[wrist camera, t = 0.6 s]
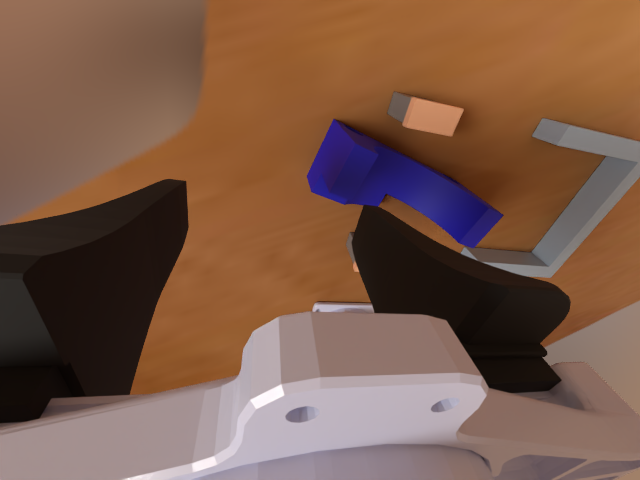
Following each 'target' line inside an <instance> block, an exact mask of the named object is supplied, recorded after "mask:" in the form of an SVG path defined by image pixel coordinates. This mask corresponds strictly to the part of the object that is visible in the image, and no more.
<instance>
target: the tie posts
mask: <svg viewBox="0 0 640 480" xmlns="http://www.w3.org/2000/svg"><path fill="white" fill-rule="evenodd" d="M463 111H464V109H462V108H459V107H455V106H451V105H447V104H442V103H439V102H436V101H433V100H429V99H424V98H420V97H416V96H411V95H407V94H403V93H398V92H394V93H393V96H392V100H391V103H390V106H389V109H388V112H387V114H389V115H390V116H392V117H394V118H395V119H397V120H399V121H400V122H402V123H403V124H402V125H403V126H404V127H406V128H411V129H416V130H421V131H426V132H431V133H436V134H441V135H446V136H451V137H452V135H453V133H454V130H455V128H456V126H457V124H458V122H459V119H460V117H461V115H462V113H463ZM353 236H354V232H350V234H349V237H348V240H347V243H346V246H347V248H348V251H349V254H350V256H351V259H352V261H353V264H354V265H353V268H354V271H356V272H359V270H358V267H357V265H356V262H355V258H354V254H353V249H352V244H351V242H352V239H353Z"/></svg>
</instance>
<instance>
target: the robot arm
mask: <svg viewBox="0 0 640 480" xmlns="http://www.w3.org/2000/svg"><path fill="white" fill-rule="evenodd" d="M187 231H188V208H187V188H186V181H181V180H173V179H166V180H162V181H160V182H157V183H155V184H152V185H150V186H147V187H145V188H143V189H140V190H138V191H135V192H133V193H131V194H128V195H125V196H123V197H120V198H117V199H114V200H111V201H109V202H106V203H103V204H100V205H97V206H94V207H90V208H87V209H83V210H79V211H75V212H72V213H67V214H63V215H58V216H53V217H48V218H43V219H38V220H33V221H28V222H22V223H15V224H8V225H1V226H0V480H615V479H618V478H620V477H622V476H624V475H627V474H629V473H631V472H634V471H636V470H638V469H640V416H639V415H638V414H637V413H636V412H635V411H634V410H633V409H632V408H631V407H630V406H629V405H628V404H627V403H626V402H625V401H624V400H623V399H622V398H621V397H620V396H619V395H618V394H617V393H616V392H615V391H614V390H613V389H612V388H611V387H610V386H609V385H608V384H607V383H606V382H605V381H604V380H603V379H602V378H601V377H600V376H599V375H598V374H597V373H596V372H595V371H594V370H593V369H592V368H591V367H590V366H589V365H588V364H587V363H584V362H566V363H565V362H564V363H556V364H554V365H552V366H549V365H548V364H547V362H546V361H545V360H544V359H543V358H542V357H545V356H546V355H547V351H546V350H545V348H544V347H543V346H542V345H541V344H540V343H541V342H542V341H543V340H544V339H545V338H546V337H547V336H548V335H549V334H550V333H551V332H552V331H553V330H554V329H555V328H556V327H557V326H558V325H559V324H560V323H561V322H562V321H563V320H564V319H565V317H566V316H567V314H568V312H569V309H570V303H571V302H570V299H569V296H567V295H566V294H565V293H564V292H563V291H562V290H561V289H559V288H558V287H557V286H556V285H554V284H551V283H549V282H546V281H542V280H538V279H534V278H531V277H527V276H523V275H519V274H516V273H512V272H509V271H506V270H503V269H500V268H497V267H494V266H491V265H488V264H485V263H483V262H480V261H477V260H475V259H472V258H470V257H468V256H465V255H463V254H460V253H458V252H456V251H454V250H452V249H450V248H448V247H446V246H444V245H442V244H440V243H438V242H436V241H434V240H432V239H431V238H429V237H427V236H426V235H424V234H422V233H420V232H419V231H417V230H416V229H414V228H412V227H411V226H409V225H408V224H406V223H405V222H403V221H402V220H400V219H398V218H397V217H395V216H394V215H392V214H391V213H389V212H387V211H386V210H384V209H382V208H380V207H378V206H372V205H364V206H363V209H362V212H361V215H360V218H359V221H358V224H357V227H356V230H355V233H354V236H353V239H352V242H351V244H352V249H353V254H354V258H355V262H356V265H357V267H358V270H359V272H360V275H361V278H362V280H363V283H364V285H365V288H366V290H367V293H368V295H369V298H370V300H371V303H339V302H317V303H315V304H314V307H313V310H312V311H308V312H301V313H295V314H288V315H281V316H279V317H277V318H276V319H274V320H272V321H270V322H269V323H267V324H265V325H263V326H261V327H260V328H258V329H256V330H254V331H253V333H252V335H251V336H250V338H249V340H248V342H247V344H246V345H245V347H244V349H243V357H242V366H241V370H240V373H239V375H237V376H232V377H228V378H223V379H218V380H214V381H209V382H205V383H200V384H196V385H191V386H186V387H182V388H177V389H173V390H168V391H164V392H159V393H154V394H142V395H130V391H131V387H132V383H133V380H134V376H135V373H136V369H137V366H138V362H139V359H140V355H141V352H142V348H143V345H144V342H145V339H146V335H147V332H148V329H149V326H150V323H151V320H152V317H153V314H154V311H155V308H156V305H157V302H158V299H159V297H160V295H161V292H162V290H163V288H164V286H165V284H166V282H167V280H168V278H169V276H170V273H171V271H172V269H173V267H174V265H175V263H176V261H177V259H178V257H179V254H180V252H181V250H182V248H183V245H184V242H185V238H186V235H187ZM317 309H318V310H317Z"/></svg>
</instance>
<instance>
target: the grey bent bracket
mask: <svg viewBox="0 0 640 480" xmlns="http://www.w3.org/2000/svg"><path fill="white" fill-rule="evenodd" d="M532 137H535V138H537V139H540V140H543V141H546V142H549V143H552V144H554V145H557V146H562V147H567V148H572V149H576V150H581V151H586V152H591V153H595V154H600V155H605V156H606V157H605V158H604V160H603V161H602V162H601V164H600V165H599V166H598V167H597V169H596V170H595V171H594V173H593V174H592V175H591V176H590V178H589V179H588V180H587V182H586V183H585V184H584V185H583V187H582V188H581V189H580V190H579V192H578V193H577V194H576V196H575V197H574V198H573V199H572V201H571V202H570V203H569V205H568V206H567V207H566V208H565V210H564V211H563V212H562V214H561V215H560V216H559V217H558V219H557V220H556V221H555V223H554V224H553V225H552V226H551V228H550V229H549V230H548V232H547V233H546V234H545V235H544V237H543V238H542V239H541V241H540V242H539V243H538V244H537V246H536V247H535V248H534V250H533V251H532V252H520V251H508V250H497V249H485V248H470V247H464V249H463V250H462V252H461V254H463V255H465V256H468V257H470V258H472V259H475V260H477V261H480V262H483V263H485V264H488V265H491V266H494V267H497V268H500V269H503V270H506V271H509V272H512V273H516V274H519V275H523V276H531V277H548V278H551V277H552V276H553V275H554V273H555V272H556V271H557V270H558V269H559V268H560V267H561V266H562V264H563V263H564V262H565V261H566V260H567V259H568V258H569V256H570V255H571V254H572V253H573V252H574V251H575V250H576V249H577V247H578V246H579V245H580V244H581V243H582V242H583V241H584V240H585V238H586V237H587V236H588V235H589V234H590V233H591V232H592V230H593V229H594V228H595V227H596V226H597V225H598V224H599V223H600V221H601V220H602V219H603V218H604V217H605V216H606V215H607V213H608V212H609V211H610V210H611V209H612V208H613V207H614V206H615V204H616V203H617V202H618V201H619V200H620V199H621V198H622V196H623V195H624V194H625V193H626V192H627V191H628V190H629V189H630V187H631V186H632V185H633V184H634V183H635V182H636V181H637V179H638V178H639V177H640V141H637V140H634V139H629V138H625V137H621V136H617V135H613V134H608V133H604V132H600V131H596V130H592V129H587V128H583V127H579V126H575V125H571V124H566V123H562V122H558V121H554V120H549V119H545V118H542V120H541V122H540V123H539V125H538V126H537V128H536V130H535V131H534V133H533V135H532Z"/></svg>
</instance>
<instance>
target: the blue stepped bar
mask: <svg viewBox="0 0 640 480" xmlns="http://www.w3.org/2000/svg"><path fill="white" fill-rule="evenodd" d="M307 178H308V182H309V185H310V188H311V192H313V193H315V194H318V195H321V196H323V197H326V198H328V199H331V200H334V201H336V202H339V203H342V204H344V205H345V204H359V205H372V206H379V204H380V202H381V201H382V199H383V198H384V196H385V195H386V194H388V195H390V196H392V197H394V198H396V199H398V200H400V201H402V202H404V203H406V204H408V205H409V206H411V207H413V208H414V209H416V210H418V211H419V212H421V213H422V214H424V215H425V216H427V217H428V218H430V219H431V220H432V221H434V222H435V223H436V224H438V225H439V226H440V227H442V228H443V229H444V230H445V231H446V232H448V233H449V234H450V235H451V236H452V237H453V238H454V239H455V240H456V241H457V242H458V243H460V244H463V245H465V246H468V247H470V248H474V247H475V246H476V245H477V244H478V243H479V242H480V241H481V239H482V238H483V237H484V236H485V235H486V234H487V233H488V232H489V231H490V230H491V229H492V227H493V226H494V225H495V224H496V223H497V222H498V221H499V220H500V219H501V218H502V216H503V214H501V213H500V212H499V211H497V210H496V209H494V208H493V207H492V206H490V205H489V204H488V203H486V202H485V201H483V200H482V199H481V198H479V197H478V196H477V195H475V194H474V193H472V192H471V191H470V190H468V189H467V188H466V187H464V186H463V185H461V184H460V183H459V182H457V181H456V180H454V179H452V178H450V177H448V176H446V175H444V174H442V173H440V172H438V171H436V170H434V169H432V168H430V167H428V166H426V165H424V164H422V163H420V162H418V161H416V160H414V159H412V158H410V157H408V156H406V155H404V154H402V153H400V152H398V151H396V150H394V149H392V148H390V147H388V146H386V145H384V144H382V143H380V142H378V141H376V140H375V139H373V138H371V137H369V136H367V135H365V134H363V133H361V132H359V131H357V130H355V129H353V128H351V127H349V126H347V125H345V124H343V123H341V122H339V121H337V120H335V119H333V122H332V124H331V126H330V128H329V130H328V132H327V134H326V136H325V139H324V141H323V143H322V145H321V147H320V149H319V151H318V153H317V156H316V158H315V160H314V162H313V164H312V166H311V168H310V170H309V173H308V175H307Z"/></svg>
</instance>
